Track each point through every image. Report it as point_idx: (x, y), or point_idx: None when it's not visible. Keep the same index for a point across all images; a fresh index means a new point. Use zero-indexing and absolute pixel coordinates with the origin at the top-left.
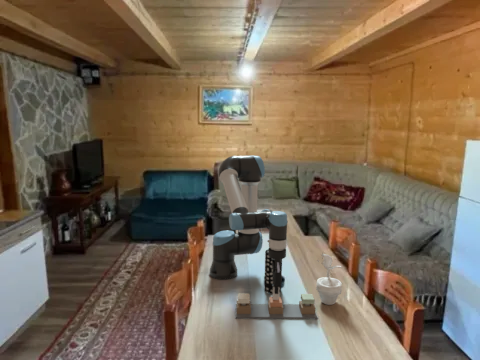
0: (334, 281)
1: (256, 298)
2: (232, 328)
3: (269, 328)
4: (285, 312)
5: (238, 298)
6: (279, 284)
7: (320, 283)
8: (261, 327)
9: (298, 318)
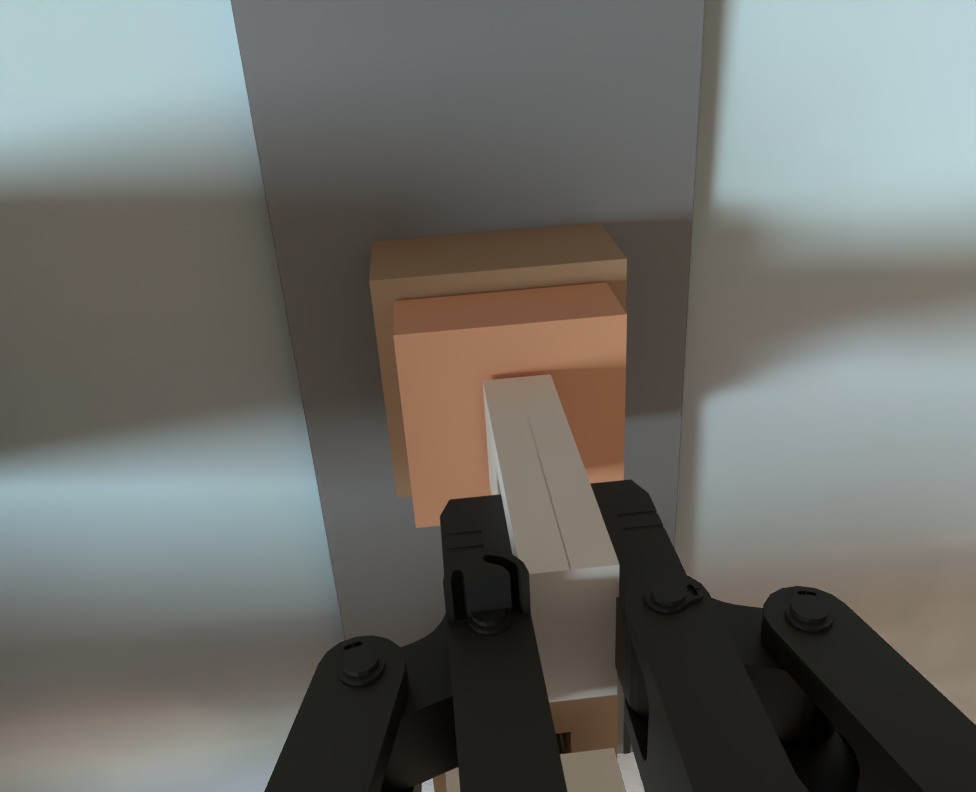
0: None
1: (117, 577)
2: None
3: (897, 398)
4: (548, 178)
5: None
6: (900, 675)
7: None
8: (861, 485)
9: None
